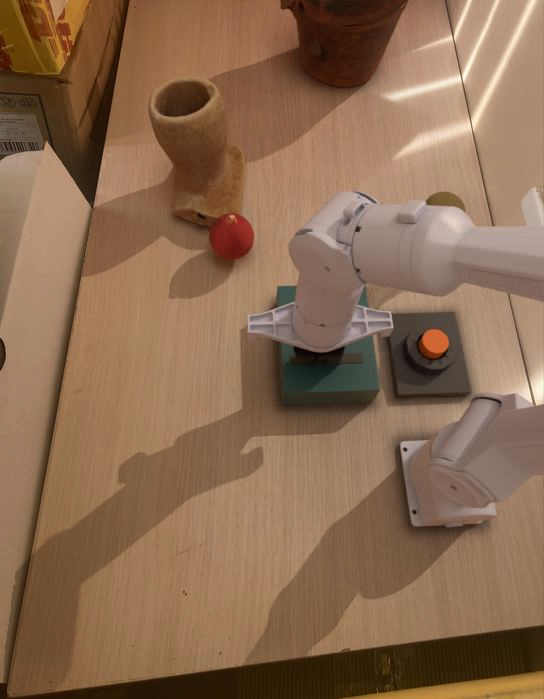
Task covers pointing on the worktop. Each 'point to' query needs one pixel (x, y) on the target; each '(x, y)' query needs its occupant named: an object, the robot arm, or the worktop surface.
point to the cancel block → (419, 371)
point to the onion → (231, 236)
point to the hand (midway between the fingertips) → (310, 358)
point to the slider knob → (333, 361)
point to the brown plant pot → (344, 36)
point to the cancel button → (433, 344)
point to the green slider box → (328, 369)
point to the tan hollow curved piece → (198, 149)
